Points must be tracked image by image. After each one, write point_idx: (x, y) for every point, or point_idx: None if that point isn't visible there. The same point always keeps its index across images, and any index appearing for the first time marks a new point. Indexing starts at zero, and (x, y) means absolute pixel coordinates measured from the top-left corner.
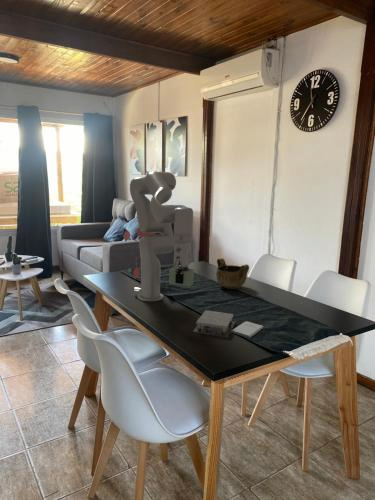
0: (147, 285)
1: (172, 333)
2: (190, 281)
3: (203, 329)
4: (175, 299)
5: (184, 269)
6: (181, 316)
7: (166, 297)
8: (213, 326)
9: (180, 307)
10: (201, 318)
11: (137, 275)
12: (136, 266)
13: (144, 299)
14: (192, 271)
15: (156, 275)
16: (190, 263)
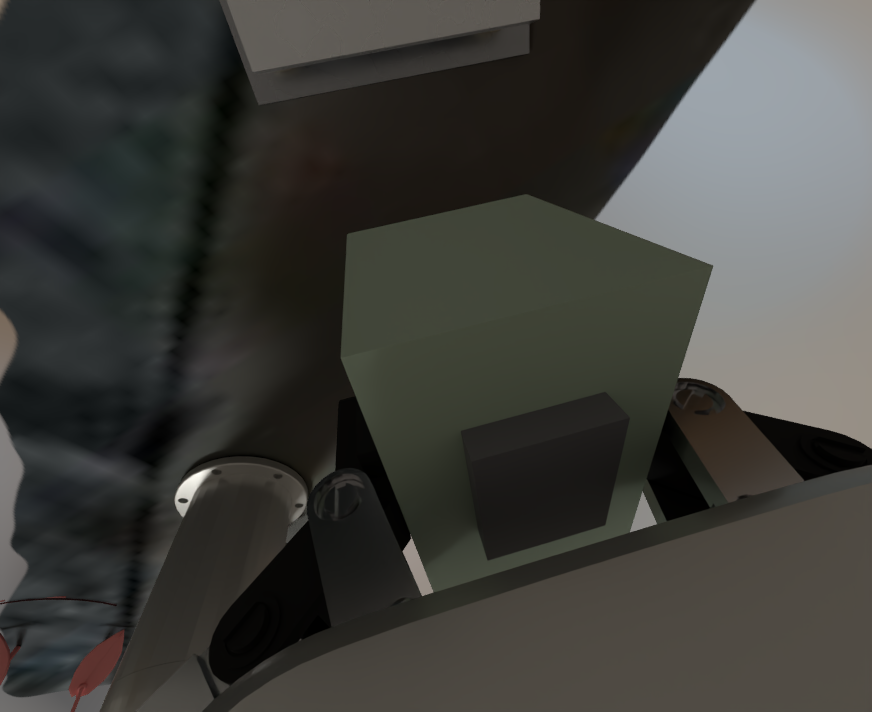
0: (274, 552)
1: (578, 170)
2: (536, 214)
3: None
4: (151, 420)
5: (618, 463)
6: (344, 258)
7: (173, 460)
8: None
9: (229, 336)
10: (452, 9)
11: (103, 650)
12: (75, 706)
13: (304, 488)
14: (498, 305)
15: (208, 604)
16: (380, 636)
